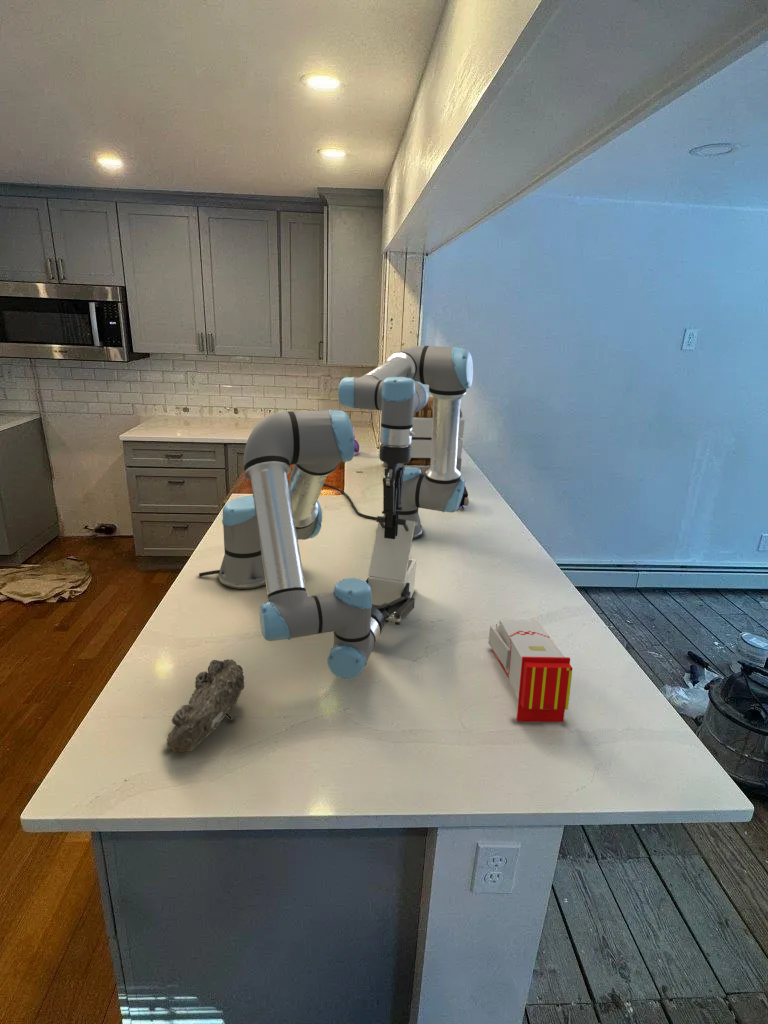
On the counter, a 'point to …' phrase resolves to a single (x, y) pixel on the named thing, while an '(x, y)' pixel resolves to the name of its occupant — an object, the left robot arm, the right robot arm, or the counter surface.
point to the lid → (391, 551)
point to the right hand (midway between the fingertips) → (390, 536)
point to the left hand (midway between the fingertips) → (388, 584)
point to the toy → (533, 669)
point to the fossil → (206, 705)
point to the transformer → (428, 437)
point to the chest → (392, 586)
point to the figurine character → (464, 499)
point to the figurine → (355, 444)
